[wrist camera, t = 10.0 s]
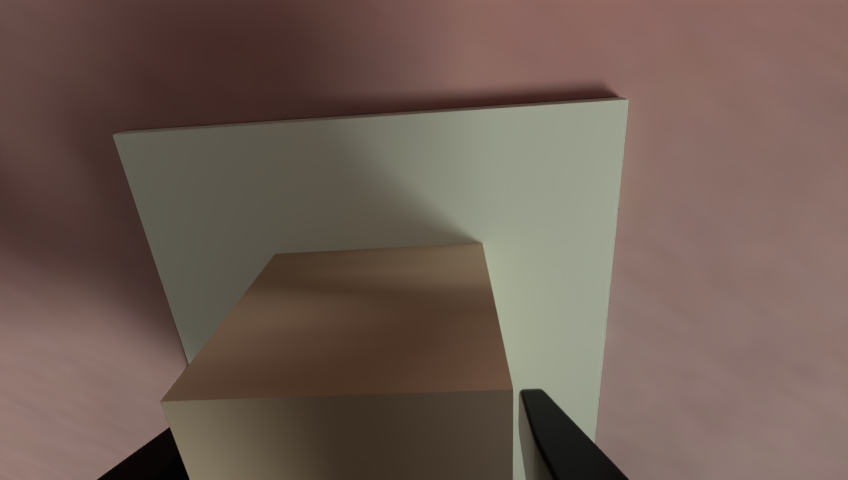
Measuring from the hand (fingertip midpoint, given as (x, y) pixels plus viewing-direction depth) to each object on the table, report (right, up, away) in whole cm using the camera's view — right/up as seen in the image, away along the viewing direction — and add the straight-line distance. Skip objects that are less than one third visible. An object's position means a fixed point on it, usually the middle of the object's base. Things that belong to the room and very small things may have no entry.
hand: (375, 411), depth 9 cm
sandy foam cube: (0, +1, +2) cm, 2 cm away
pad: (0, +1, +3) cm, 3 cm away
